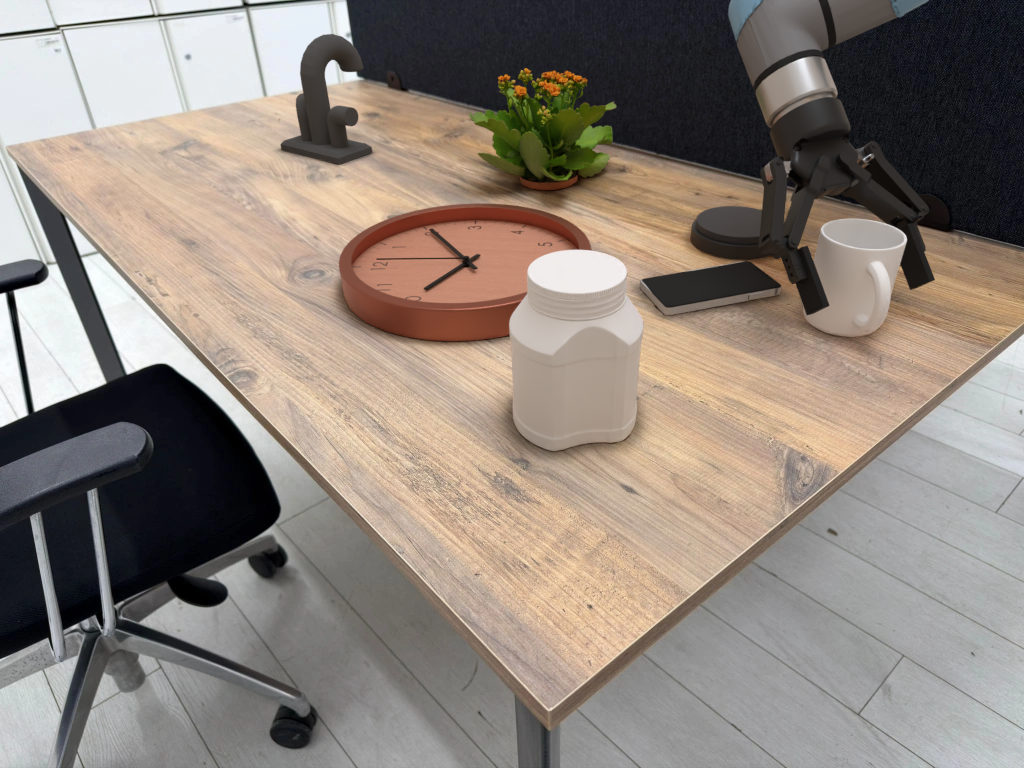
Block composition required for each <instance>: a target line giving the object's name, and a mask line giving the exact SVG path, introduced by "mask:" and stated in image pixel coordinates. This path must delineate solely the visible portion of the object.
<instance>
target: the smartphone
mask: <svg viewBox="0 0 1024 768" xmlns="http://www.w3.org/2000/svg"><path fill="white" fill-rule="evenodd" d="M782 288H783V287H782V284H781V283H780V282H778V281H777V280H776V279H774V278H773V277H772V276H771V275H769V274H767V273H766V272H765V271H764V270H763V269H762V268H760V267H758V266H757V265H756V264H755V263H753V262H752V261H751V260H741V261H737V262H730V263H726V264H725V263H724V264H720V265H714V266H708V267H702V268H697V269H692V270H685V271H681V272H675V273H670V274H669V273H668V274H663V275H657V276H652V277H651V276H650V277H646V278H642V279H640V280H639V289H640V290H641V291H642V292H643V293H644V294H645V295H646V296H647V298H649V299H650V301H651V302H652V303H653V304H654V305H655V306H656V307H657V308H658V309H659V310H660V311H661V313H662V314H664V315H665V316H672V315H673V316H674V315H679V314H683V313H689V312H695V311H700V310H706V309H710V308H711V309H712V308H716V307H721V306H726V305H732V304H737V303H742V302H748V301H752V300H758V299H763V298H768V297H769V298H770V297H774V296H779V295H780V294H781V291H782Z"/></svg>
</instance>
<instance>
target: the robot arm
mask: <svg viewBox="0 0 1024 768" xmlns="http://www.w3.org/2000/svg"><path fill="white" fill-rule="evenodd" d="M929 1H930V0H730V2H729V5H728V11H727V12H728V13H727V16H728V19H729V23H730V27H731V30H732V32H733V33H732V34H733V37H734V40H735V43H736V47H737V49H738V52H739V54H740V57H741V59H742V62H743V65H744V67H745V70H746V73H747V75H748V78H749V80H750V84H751V86H752V88H753V90H754V93H755V96H756V100H757V102H758V105H759V108H760V110H761V113H762V116H763V118H764V122H765V125H766V126H767V127H768V128H770V131H769V136H770V139H771V142H772V144H773V147H774V150H775V152H776V156H775V157H773V159H772V160H771V161H769V162H768V163H767V164H765V166H764V167H762V168H761V170H759V171H760V174H759V175H760V179H761V183H762V186H763V194H762V197H763V198H762V206H761V210H762V215H761V226H760V237H759V251H760V252H761V253H763V254H767V253H768V252H769V253H771V256H770V257H772V258H773V259H774V260H777V261H778V260H781V262H782V266H783V268H784V270H785V274H786V276H787V279H788V282H789V283H790V284H791V285H795V287H796V289H797V293H798V295H799V298H800V300H801V303H802V306H803V310H804V309H805V312H806V315H811V314H814V313H816V312H818V311H820V310H822V309H824V308H826V307H828V306H830V305H829V302H828V300H827V297H826V294H825V291H824V289H823V286H822V283H821V280H820V278H819V275H818V272H817V269H816V267H815V264H814V257H813V255H812V253H811V249H810V247H809V245H803V246H801V247H799V246H800V243H801V241H802V237H803V236H804V232H805V229H806V226H807V223H808V221H809V217H810V215H811V211H812V208H813V205H814V202H815V200H817V199H821V198H823V197H825V196H831V197H832V196H833V197H834V196H837V195H840V194H841V195H842V196H843V197H845V198H851V199H853V200H854V201H856V202H857V203H859V204H860V205H861V206H862V207H864V208H865V209H867V210H868V211H869V212H870V213H872V214H873V215H874V216H876V217H877V218H878V219H880V220H881V222H883V223H885V224H888V225H891V226H893V227H896V228H898V229H899V230H901V231H902V232H903V233H904V234H905V235H906V237H907V243H906V246H905V249H904V253H903V256H902V259H901V263H900V267H901V270H902V272H903V276H904V278H905V281H906V283H907V285H908V288H909V291H912V290H916V289H918V288H920V287H922V286H925V285H927V284H930V283H931V282H934V281H936V278H935V275H934V274H933V271H932V268H931V266H930V263H929V261H928V260H929V259H928V258H927V255H926V251H927V249H926V244H925V241H924V239H923V235H922V234H921V231H920V227H918V222H919V221H921V220H923V219H924V218H925V216H926V215H928V214H929V212H930V207H929V206H928V204H927V203H926V202H925V201H924V200H923V199H922V198H921V197H920V196H919V194H918V193H917V192H916V191H915V190H914V188H912V186H911V185H910V184H909V183H908V182H907V181H906V180H905V179H904V177H902V175H901V174H900V173H899V172H898V171H897V169H895V167H894V166H893V165H892V163H890V162H889V161H888V160H887V158H885V155H884V153H883V150H882V149H881V147H880V144H879V143H878V142H877V141H875V140H871V141H869V142H867V144H865V145H864V146H862V147H859V148H856V149H855V147H854V146H853V145H852V144H851V142H850V139H849V137H850V133H851V124H850V122H849V118H848V116H847V113H846V111H845V108H844V106H843V103H842V101H841V100H840V99H839V98H837V97H838V94H839V93H838V88H837V86H836V84H835V81H834V79H833V76H832V74H831V71H830V69H829V66H828V63H827V62H826V59H825V56H824V54H823V51H825V50H828V49H830V48H833V47H835V46H836V45H838V44H841V43H843V42H845V41H848V40H850V39H852V38H854V37H856V36H859V35H861V34H864V33H865V32H868V31H870V30H872V29H874V28H876V27H878V26H881V25H883V24H885V23H888V22H890V21H892V20H895V19H897V18H902V17H904V16H905V15H906V14H907V13H909V12H911V11H913V10H915V9H917V8H919V7H920V6H922V5H924V4H926V3H928V2H929ZM788 179H789V180H790V181H792V182H793V183H794V184H795V185H794V188H793V191H792V194H791V197H790V202H791V203H790V206H789V209H788V212H787V214H786V204H787V191H788ZM854 179H855V180H854ZM798 247H799V248H798Z"/></svg>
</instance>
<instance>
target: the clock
mask: <svg viewBox="0 0 1024 768" xmlns="http://www.w3.org/2000/svg"><path fill="white" fill-rule="evenodd" d="M564 250H590V251H592V245H591V242H590V240H589V238H588V236H587V235H586V233H585V232H584V230H583V231H582V229H580V227H578V226H577V225H575V224H574V223H572V222H571V221H569V220H567V219H565V218H564V217H561V216H559V215H556V214H553V213H551V212H547V211H544V210H542V209H541V210H540V209H537V208H532V207H527V206H520V205H513V204H506V203H505V204H503V203H484V202H483V203H481V202H478V203H477V202H476V203H457V204H445V205H439V206H433V207H427V208H422V209H417V210H413V211H408V212H405V213H402V214H398V215H395V216H392V217H390V218H387V219H385V220H381V221H379V222H377V223H375V224H373V225H371V226H369V227H368V228H366V229H364V230H362V231H360V233H358V234H357V235H355V236H354V237H353V238H352V239H351V240H349V242H348V243H347V244H346V245H345V247H344V248H343V249H342V251H341V253H340V256H339V258H338V259H339V260H338V270H339V275H340V280H341V286H342V291H343V296H344V300H345V303H346V304H347V306H348V307H349V309H350V311H352V313H354V315H356V317H358V318H359V319H360V320H362V321H364V322H365V323H367V324H369V325H371V326H372V327H374V328H376V329H379V330H382V331H384V332H388V333H391V334H394V335H398V336H400V337H405V338H411V339H418V340H424V341H425V340H426V341H435V342H436V341H438V342H469V341H470V342H471V341H481V340H488V339H489V340H490V339H497V338H503V337H507V336H510V333H509V321H510V318H511V315H512V314H513V312H514V311H515V309H516V308H517V307H518V305H519V304H520V303H521V301H522V300H523V299H524V297H525V296H526V295H527V291H528V289H527V284H528V283H527V270H528V267H529V266H530V264H531V263H532V262H533V261H534V260H536V259H537V258H539V257H541V256H544V255H546V254H549V253H553V252H557V251H564Z"/></svg>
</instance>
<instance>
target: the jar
mask: <svg viewBox="0 0 1024 768" xmlns="http://www.w3.org/2000/svg"><path fill="white" fill-rule="evenodd" d="M527 283H528V284H527V289H528V291H527V295H526V296H525V297H524V299H523V300H522V301H521V303H520V304H519V305H518V307H517V308H516V309H515V311H514V312H513V314H512V315H511V318H510V321H509V333H510V335H509V339H510V350H511V351H510V352H511V375H512V376H511V377H512V404H511V405H512V407H511V408H512V420H513V423H514V426H515V428H516V429H517V431H518V432H519V434H521V436H523V438H525V440H527V441H528V442H530V443H531V444H534V445H535V446H537V447H538V448H542V449H544V450H547V451H551V452H559V451H563V450H566V449H569V448H572V447H576V446H580V445H581V446H582V445H586V444H595V443H609V444H612V443H619V442H622V441H624V440H625V439H626V438H627V437H628V436H629V435H630V434H631V433H632V431H633V429H634V427H635V425H636V421H637V411H638V404H637V400H638V399H637V398H638V386H639V372H640V363H641V362H640V361H641V347H642V341H643V339H644V338H643V337H644V328H645V327H644V319H643V317H642V315H641V314H640V311H638V309H637V308H636V306H635V305H634V303H633V302H632V301H631V299H630V298H629V295H627V287H628V286H627V285H628V268H627V267H626V265H625V264H624V263H623V262H622V261H621V260H620V259H619V258H617V257H615V256H613V255H611V254H609V253H608V254H607V253H604V252H601V251H596V250H591V251H590V250H564V251H557V252H553V253H549V254H546V255H544V256H541V257H539V258H537V259H536V260H534V261H533V262H532V263H531V264H530V266H529V267H528V270H527Z"/></svg>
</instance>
